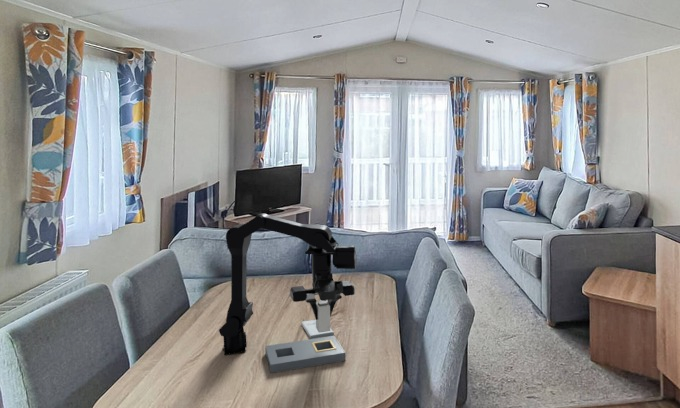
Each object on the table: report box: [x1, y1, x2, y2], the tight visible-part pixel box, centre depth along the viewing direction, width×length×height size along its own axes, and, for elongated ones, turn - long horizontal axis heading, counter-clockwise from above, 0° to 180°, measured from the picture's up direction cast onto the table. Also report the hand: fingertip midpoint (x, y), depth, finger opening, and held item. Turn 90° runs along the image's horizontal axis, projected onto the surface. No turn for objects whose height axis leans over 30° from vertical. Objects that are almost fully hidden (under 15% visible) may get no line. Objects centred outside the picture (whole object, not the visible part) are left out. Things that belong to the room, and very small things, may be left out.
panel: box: [264, 335, 346, 374], centre depth 129 cm, size 22×12×3 cm, turn 107°
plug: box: [315, 300, 331, 333], centre depth 129 cm, size 4×4×9 cm
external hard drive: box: [300, 319, 335, 339], centre depth 148 cm, size 2×8×12 cm
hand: (322, 318), depth 129 cm, fingers closed on plug, 4 cm apart
